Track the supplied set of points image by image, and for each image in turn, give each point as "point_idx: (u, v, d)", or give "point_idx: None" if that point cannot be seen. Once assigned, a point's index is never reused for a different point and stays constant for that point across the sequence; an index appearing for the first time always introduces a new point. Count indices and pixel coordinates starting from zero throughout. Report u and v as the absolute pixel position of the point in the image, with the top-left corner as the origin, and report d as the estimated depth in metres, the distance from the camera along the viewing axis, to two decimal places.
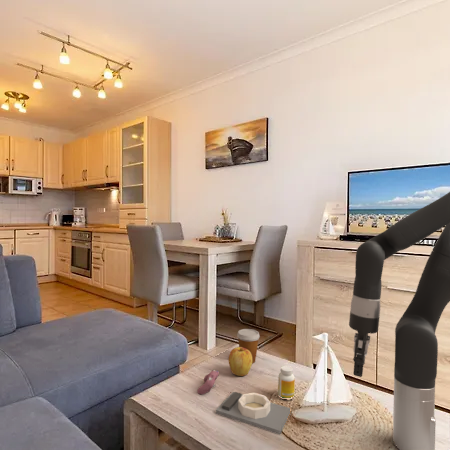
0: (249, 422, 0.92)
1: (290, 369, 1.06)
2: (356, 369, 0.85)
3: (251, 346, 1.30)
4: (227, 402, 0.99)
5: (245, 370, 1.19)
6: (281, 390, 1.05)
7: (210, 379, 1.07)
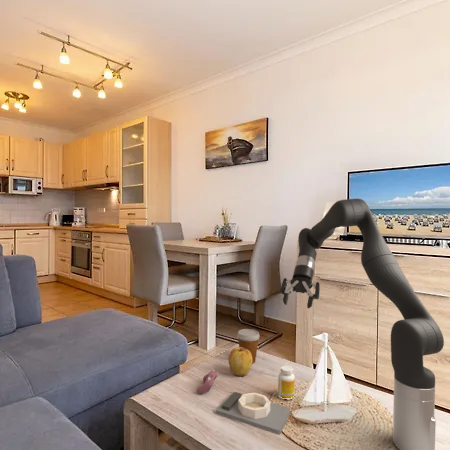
0: (249, 422, 0.92)
1: (290, 369, 1.06)
2: None
3: (251, 346, 1.30)
4: (227, 402, 0.99)
5: (245, 371, 1.19)
6: (281, 390, 1.05)
7: (209, 379, 1.07)
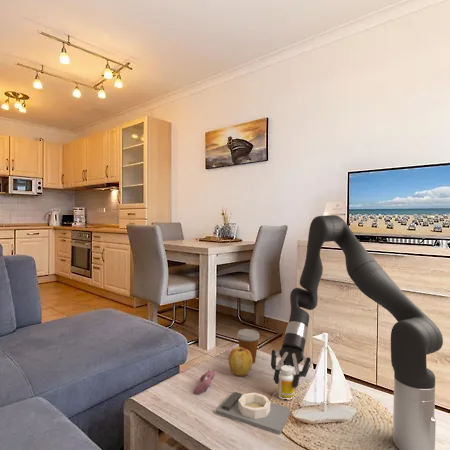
0: (249, 422, 0.92)
1: (290, 369, 1.06)
2: None
3: (251, 346, 1.30)
4: (227, 402, 0.99)
5: (245, 370, 1.19)
6: (281, 390, 1.05)
7: (206, 379, 1.08)
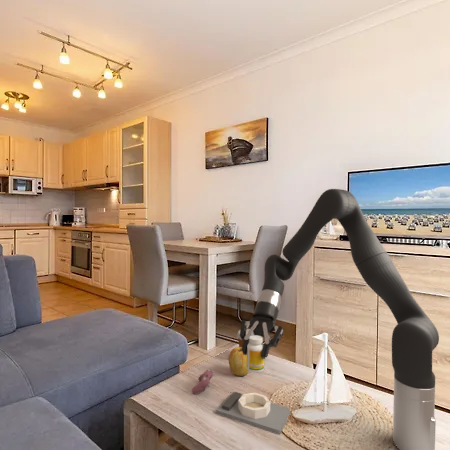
0: (249, 422, 0.92)
1: (259, 338, 0.97)
2: None
3: None
4: (227, 402, 0.99)
5: (245, 371, 1.19)
6: (249, 361, 0.96)
7: (204, 379, 1.08)
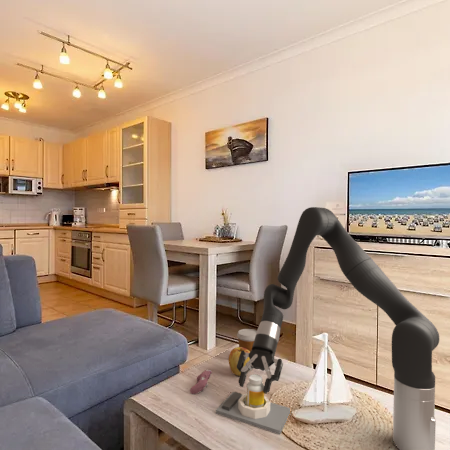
0: (249, 422, 0.92)
1: (259, 378, 0.97)
2: None
3: (251, 346, 1.30)
4: (227, 402, 0.99)
5: None
6: (249, 401, 0.96)
7: (203, 379, 1.08)
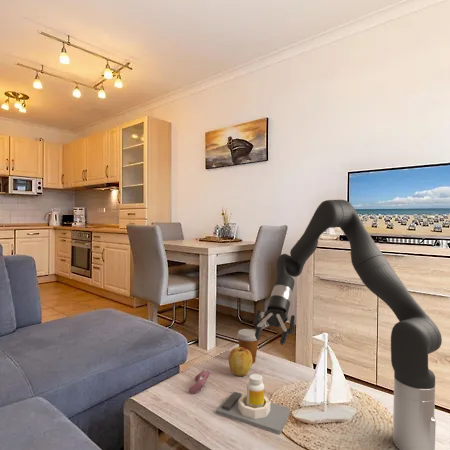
0: (249, 422, 0.92)
1: (259, 378, 0.97)
2: None
3: (251, 346, 1.30)
4: (227, 402, 0.99)
5: (245, 370, 1.19)
6: (248, 401, 0.96)
7: (201, 378, 1.08)
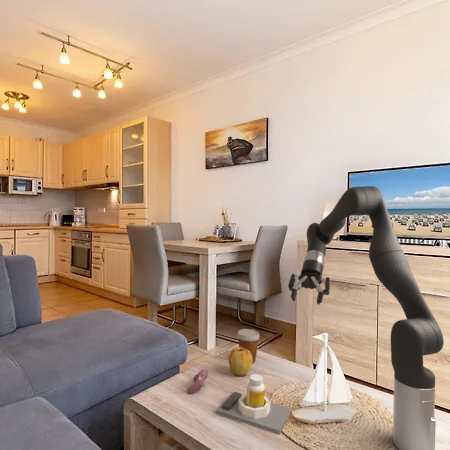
0: (249, 422, 0.92)
1: (259, 379, 0.96)
2: None
3: (251, 346, 1.30)
4: (227, 402, 0.99)
5: (245, 370, 1.19)
6: (248, 401, 0.96)
7: (200, 378, 1.08)
